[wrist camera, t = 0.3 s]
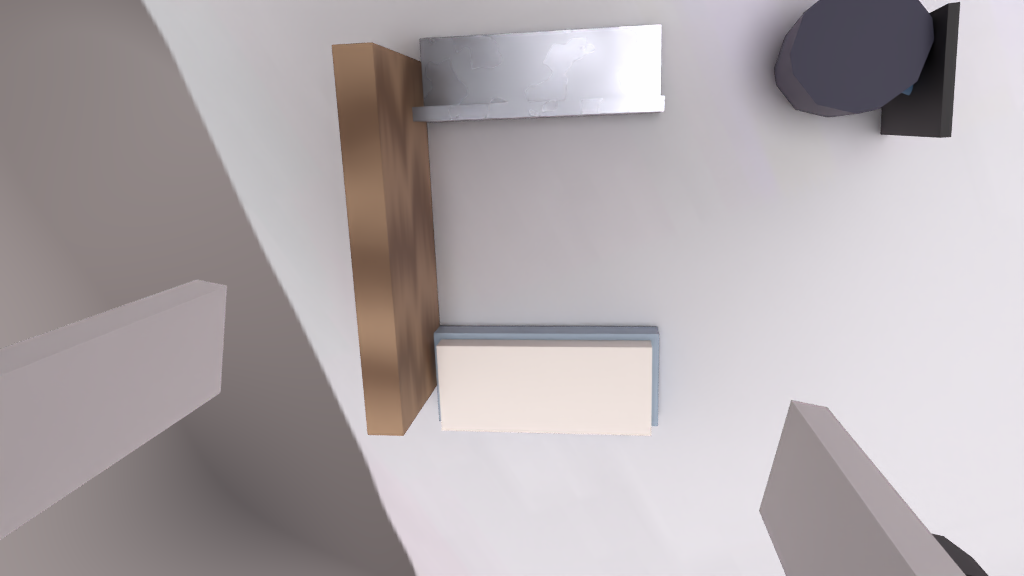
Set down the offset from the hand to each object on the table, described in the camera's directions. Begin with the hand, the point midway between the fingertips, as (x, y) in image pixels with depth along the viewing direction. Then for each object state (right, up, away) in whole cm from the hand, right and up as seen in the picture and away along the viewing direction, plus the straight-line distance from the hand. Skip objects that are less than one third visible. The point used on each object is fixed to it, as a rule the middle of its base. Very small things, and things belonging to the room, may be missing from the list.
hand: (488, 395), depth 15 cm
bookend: (+2, +15, +24) cm, 28 cm away
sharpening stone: (+3, -3, +28) cm, 28 cm away
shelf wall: (-5, +6, +27) cm, 28 cm away
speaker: (+18, +14, +22) cm, 32 cm away
